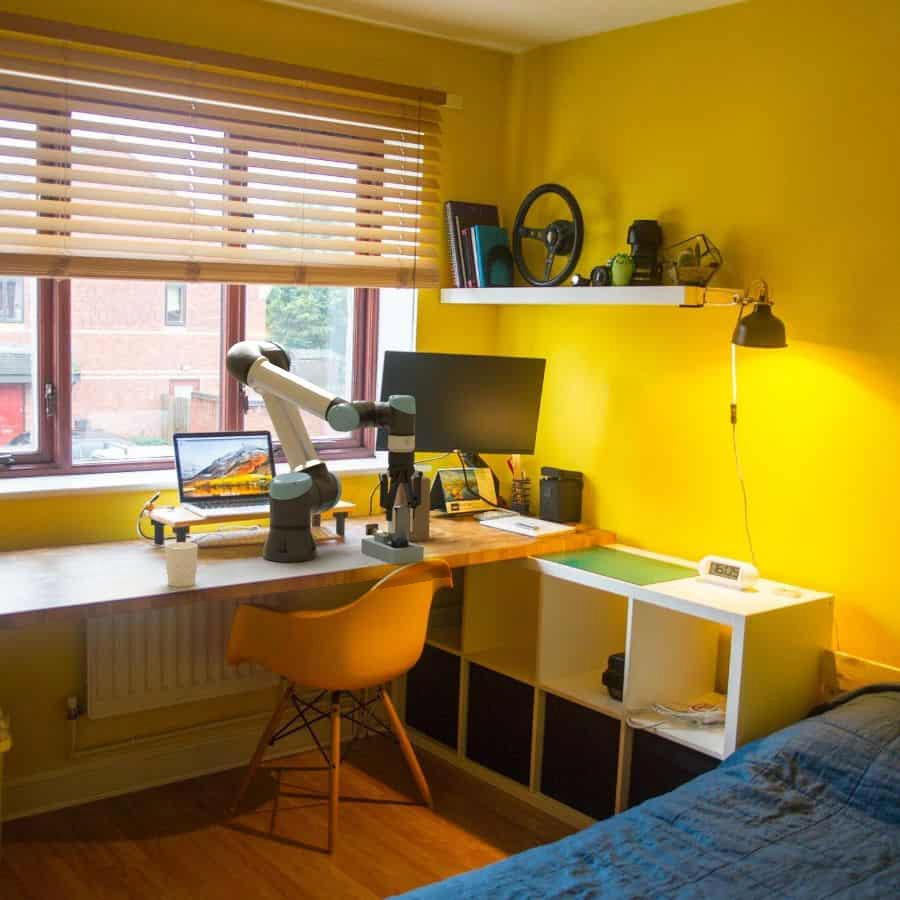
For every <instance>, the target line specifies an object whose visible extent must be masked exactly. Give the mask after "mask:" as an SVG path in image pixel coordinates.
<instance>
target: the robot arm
mask: <svg viewBox="0 0 900 900" xmlns="http://www.w3.org/2000/svg"><path fill="white" fill-rule="evenodd" d="M291 366H292V358H291V355H290V353H289V351H288V350H287V348H285V347H284V345H282V344H281V343H279V342H275V341H272V340H271V341H270V340H261V341H240V342H238V343H235V344H233V346H232V347H231V348H230V349H229V350H228V352H227V354H226V358H225V367H226V370H227V372H228V374H229V375H230V376H231V378H233V379H234V380H235V381H237V382H239V383H241V384H243V385H245V386H247V387H249V388H251V389H252V390H253V392H254V393H256V394H258V395H260V396H261V398H262V400H263V403H264V406H265V408H266V410H267V413H268V415H269V418H270V421H271V423H272V426H273V428H274V430H275V433H276V436H277V439H278V440H279V443H280V446H281V448H282V451H283V453H284V456H285V457H286V460H287V463H288V466H289V468H290V471H289V472H288V473H286V472H285V473H281V474H278V475H276V476H273V477H272V478H271V480H270V483H269V489H268V493H269V531H268V534H267V537H266V539H265V543H264V546H263V549H262V554H263V555H262V557H263V559H265V560H267V561H271V562H272V561H273V562H279V563H280V562H281V563H282V562H283V563H297V562H298V563H299V562H307V561H312V560H314V559H316V558H317V556H318V549H317V545H316V542H315V539H314V536H313V533H312V516H313V515H317V514H324V513H326V512H328V511H330V510H332V509H334V508H335V507H336V506H337V505H338V503H339V502H340V500H341V497H342V492H343V488H342V482H341V480H340V479H339V477H338V476H337V475H336V474H335V473H333V472H331V471H329V469H328V467H327V464H326V462H325V461H323V460H322V459H319V458H318V455H317V453H316V450H315V448H314V446H313V443H312V440H311V438H310V435H309V433H308V430H307V428H306V426H305V423H304V420H303V418H302V415H301V412H300V411H299V409H301V410H303V411H305V412H307V413H309V414H311V415H313V416H315V417H317V418H319V419H321V420H323V421H325V422H327V423H328V425H329V427H330V428H331V429H332V430H334V431H336V432H339V433H340V432H341V433H342V432H343V433H348V432H351V431H357V430H362V429H363V430H364V429H369V428H370V429H371V428H374V429H375V428H376V429H388V433H387V434H388V436H387V437H388V439H387V440H388V441H387V442H388V443H387V448H388V449H389V450H388V451H387V463H388V467H387V470H386V471H384V472H380V473H378V479H379V481H380V482H379V507H380V508H382V509H385V520H386V522H387V532H390V533H395V515H396V510H393V507H394V503H395V499H396V494H397V490H398V487H399V486H400V483H402V484H403V485H404V490H405V495H406V499H407V504H408V506H409V531H412V519H414V518H415V509H416V508H417V506H418V505H419V506H420V505H421V479H422V476H423V475H424V472H423V471H422V470H418V469H415V460H416V459H415V457H416V452H415V451H414V450H415V446H416V445H415V443H416V440H415V439H416V414H417V411H416V399H415V397H414V396H411V395H406V394H405V395H404V394H403V395H402V394H394V395H390V396H389V397H388V401H377V400H376V401H375V400H365V399H363V400H362V399H361V400H354V401H352V402H349V401H347V400H345V399H343V398H340V397H339V396H337V395H336V394H333V393H331V392H329V391H327V390H325V389H323V388H321V387H318V386H317V385H316V384H313V383H311V382H308V381H307V380H304V379H303V378H300V377H299V376H296V375H295V374H293V373H290V371H291ZM412 475H413V477H414V478H413V490H412V481H411V477H412ZM389 479H390V480H389Z"/></svg>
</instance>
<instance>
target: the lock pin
mask: <svg viewBox="0 0 900 900" xmlns="http://www.w3.org/2000/svg"><path fill="white" fill-rule="evenodd" d="M375 533H381V534H384V535H387V536H388V540H389V539H390V533H388V531H384V530H381V529H379V523H377V522H375V523H367V524H365V536H367V537H369V536H372V537H374V536H375Z"/></svg>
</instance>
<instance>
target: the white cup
mask: <svg viewBox="0 0 900 900" xmlns="http://www.w3.org/2000/svg"><path fill="white" fill-rule="evenodd" d="M198 548H199V547H198V544H197V543H196V542H195V543H194V542H185V541H180V542H170V543H167V544H165V561H166V575H167V585H168V586H170V587H175V588H176V587H177V588H184V587H191V586H194V585H195V584H196V577H197V576H196V575H197V565H198V564H197V563H198Z"/></svg>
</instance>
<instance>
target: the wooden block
mask: <svg viewBox="0 0 900 900" xmlns="http://www.w3.org/2000/svg"><path fill="white" fill-rule="evenodd" d="M413 478H414V477H413V475H412V477H411V481H412V490H413ZM394 505H408V504H407V499H406V495H405V490H404V485H403V484H402V483H400V486H399V487H398V490H397V494H396V499H395V503H394ZM430 511H431V479H430V477H428V476H426V475H424V474H423V476H422V479H421V505H420V506H419V505H418V506H417V508H416V509H415V518H414V519H412V531H409V542H410V543H414V542H415V543H417V542H418V543H419V542H427V541H429V540H430V520H431V519H430V517H431V516H430V513H431V512H430Z"/></svg>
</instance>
